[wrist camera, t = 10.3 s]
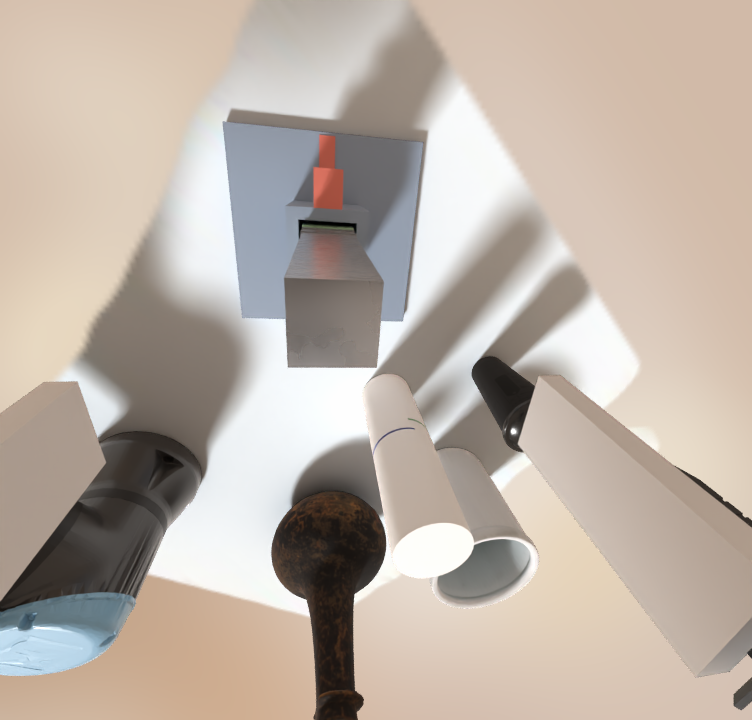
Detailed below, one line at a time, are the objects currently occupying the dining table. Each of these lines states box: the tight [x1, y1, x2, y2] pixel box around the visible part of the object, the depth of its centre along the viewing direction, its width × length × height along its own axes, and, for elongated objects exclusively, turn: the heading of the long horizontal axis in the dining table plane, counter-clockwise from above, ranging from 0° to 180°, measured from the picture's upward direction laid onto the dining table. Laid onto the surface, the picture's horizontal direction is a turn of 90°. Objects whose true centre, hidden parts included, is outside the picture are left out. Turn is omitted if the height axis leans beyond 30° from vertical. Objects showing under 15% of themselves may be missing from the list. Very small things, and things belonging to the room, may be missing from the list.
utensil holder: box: [430, 448, 539, 609], centre depth 54 cm, size 15×15×18 cm
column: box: [284, 222, 384, 368], centre depth 25 cm, size 4×4×22 cm
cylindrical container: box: [362, 374, 474, 578], centre depth 41 cm, size 7×7×25 cm
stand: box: [223, 122, 423, 321], centre depth 36 cm, size 20×20×11 cm
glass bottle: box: [271, 491, 386, 720], centre depth 49 cm, size 18×18×28 cm
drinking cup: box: [472, 357, 535, 452], centre depth 44 cm, size 8×8×20 cm
